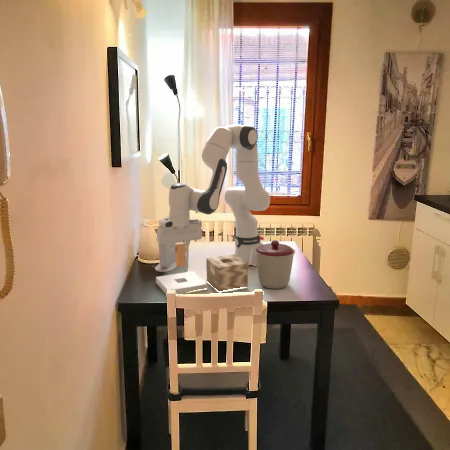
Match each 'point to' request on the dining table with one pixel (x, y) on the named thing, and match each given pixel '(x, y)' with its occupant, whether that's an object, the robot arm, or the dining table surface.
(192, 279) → the socket plate
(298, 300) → the dining table surface
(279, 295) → the dining table surface
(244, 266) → the notched wooden cube
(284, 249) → the canister
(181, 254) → the peg
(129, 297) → the dining table surface
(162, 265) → the wireless router
